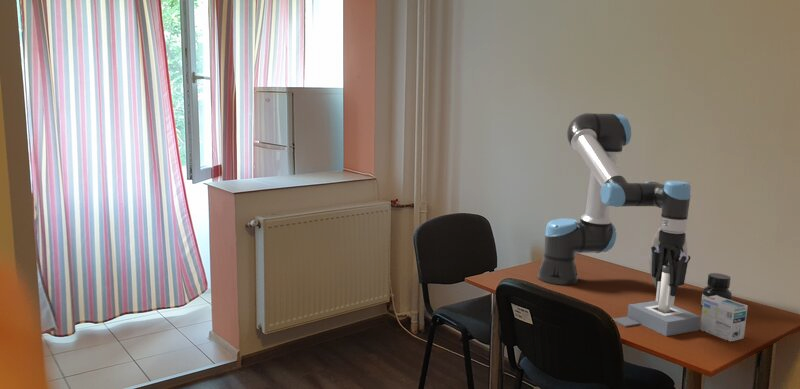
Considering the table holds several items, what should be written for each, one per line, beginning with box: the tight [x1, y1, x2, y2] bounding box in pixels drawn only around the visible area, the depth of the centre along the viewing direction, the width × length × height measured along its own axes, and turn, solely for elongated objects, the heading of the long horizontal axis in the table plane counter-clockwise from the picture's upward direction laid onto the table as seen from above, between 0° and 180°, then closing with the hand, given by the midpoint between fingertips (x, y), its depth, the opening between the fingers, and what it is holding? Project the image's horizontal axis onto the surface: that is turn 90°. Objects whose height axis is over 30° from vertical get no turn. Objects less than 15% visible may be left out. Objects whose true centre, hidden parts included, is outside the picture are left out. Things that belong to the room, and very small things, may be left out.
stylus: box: [658, 264, 670, 314], centre depth 196 cm, size 4×4×18 cm
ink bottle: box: [700, 272, 733, 309], centre depth 213 cm, size 10×9×12 cm
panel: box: [626, 300, 701, 337], centre depth 198 cm, size 16×14×5 cm
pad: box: [612, 316, 641, 328], centre depth 198 cm, size 6×6×1 cm
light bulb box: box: [699, 295, 749, 342], centre depth 190 cm, size 11×7×11 cm, turn 29°
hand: (664, 302), depth 197 cm, fingers closed on stylus, 3 cm apart
